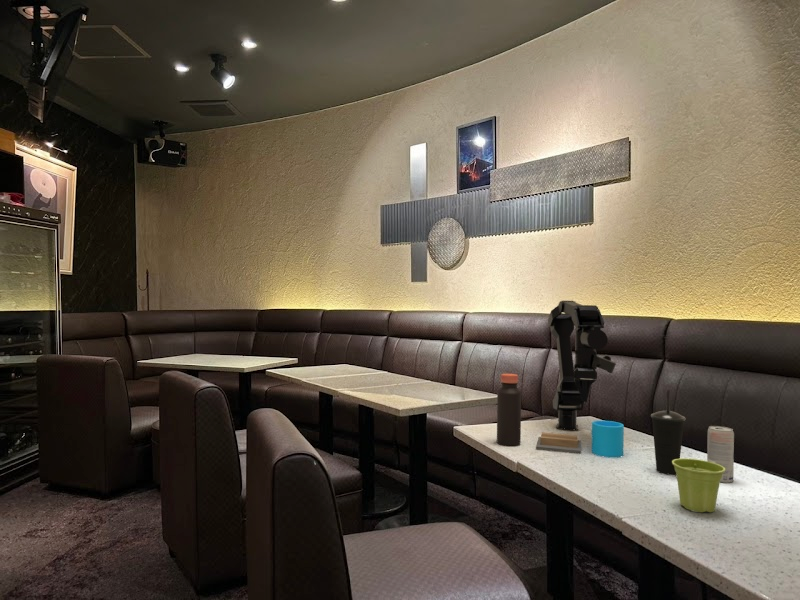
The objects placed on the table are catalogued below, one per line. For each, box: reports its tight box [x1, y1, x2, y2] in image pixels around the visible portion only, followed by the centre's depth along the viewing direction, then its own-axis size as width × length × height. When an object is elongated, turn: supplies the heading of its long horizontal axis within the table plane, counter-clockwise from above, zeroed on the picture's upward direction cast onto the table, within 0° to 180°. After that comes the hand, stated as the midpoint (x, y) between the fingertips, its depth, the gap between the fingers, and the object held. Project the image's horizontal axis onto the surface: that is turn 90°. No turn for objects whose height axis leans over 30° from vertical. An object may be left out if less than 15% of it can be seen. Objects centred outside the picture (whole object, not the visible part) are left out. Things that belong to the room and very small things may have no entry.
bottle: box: [496, 373, 522, 447], centre depth 157 cm, size 7×7×20 cm
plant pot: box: [672, 458, 725, 513], centre depth 109 cm, size 9×9×9 cm
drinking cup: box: [650, 389, 686, 476], centre depth 133 cm, size 8×8×20 cm
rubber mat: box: [535, 436, 582, 455], centre depth 155 cm, size 12×12×1 cm
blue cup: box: [590, 420, 625, 458], centre depth 150 cm, size 12×8×8 cm
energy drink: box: [706, 425, 735, 484], centre depth 127 cm, size 5×5×12 cm
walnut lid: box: [540, 432, 579, 448], centre depth 155 cm, size 6×10×2 cm, turn 71°
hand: (584, 399), depth 161 cm, fingers open, 9 cm apart
